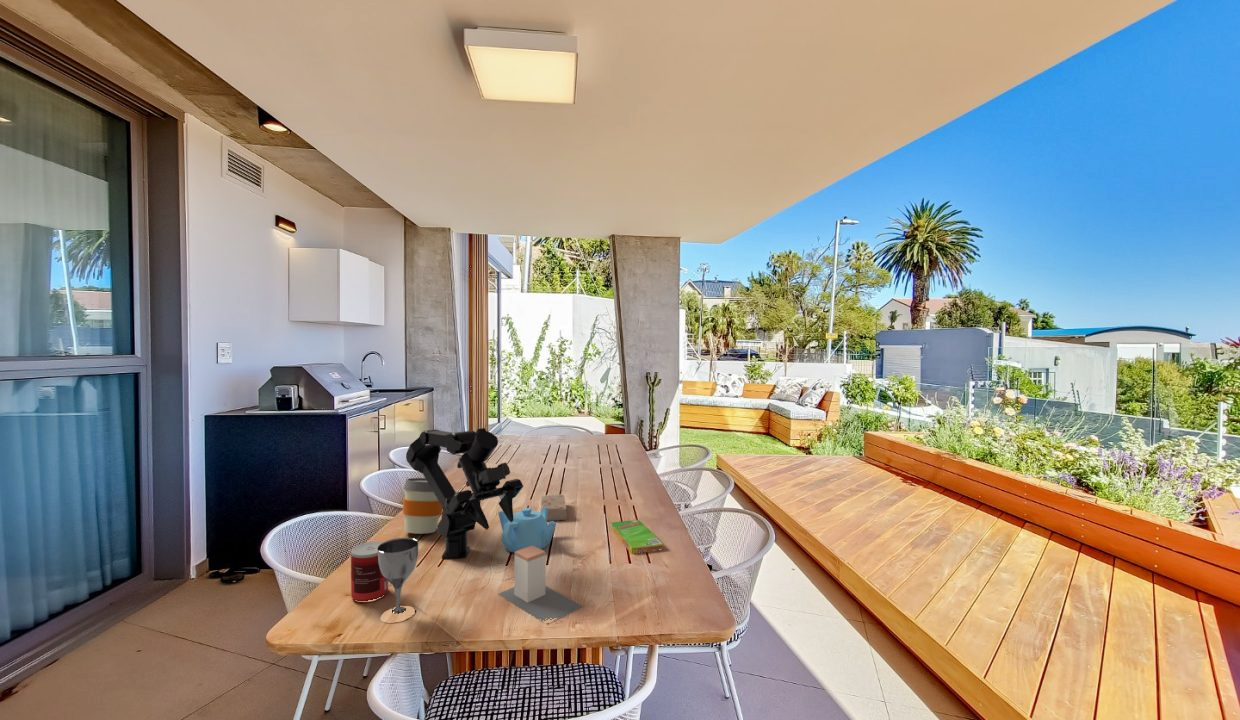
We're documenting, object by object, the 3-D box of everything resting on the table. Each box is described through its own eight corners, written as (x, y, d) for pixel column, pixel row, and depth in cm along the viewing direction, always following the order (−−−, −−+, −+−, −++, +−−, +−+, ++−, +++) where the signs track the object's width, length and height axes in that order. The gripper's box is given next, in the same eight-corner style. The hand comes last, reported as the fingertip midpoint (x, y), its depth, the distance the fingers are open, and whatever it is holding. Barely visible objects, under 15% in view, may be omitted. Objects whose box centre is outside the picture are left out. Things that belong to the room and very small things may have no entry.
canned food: (378, 583, 118) (378, 538, 118) (394, 594, 113) (394, 547, 113) (345, 595, 112) (344, 548, 112) (360, 607, 107) (360, 558, 107)
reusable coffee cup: (449, 528, 155) (455, 480, 157) (429, 536, 143) (436, 483, 145) (411, 525, 157) (418, 477, 159) (389, 532, 144) (396, 480, 147)
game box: (630, 558, 137) (609, 528, 156) (663, 554, 140) (638, 525, 159) (631, 547, 136) (609, 519, 156) (663, 544, 139) (638, 516, 159)
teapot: (497, 538, 147) (497, 502, 146) (547, 533, 151) (547, 498, 151) (501, 559, 132) (501, 520, 132) (556, 553, 137) (556, 514, 136)
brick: (540, 506, 177) (540, 493, 177) (563, 505, 178) (564, 492, 178) (541, 523, 161) (541, 509, 160) (566, 521, 162) (567, 507, 162)
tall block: (514, 594, 112) (514, 551, 112) (531, 587, 116) (532, 545, 116) (527, 602, 109) (527, 558, 109) (545, 594, 113) (545, 551, 112)
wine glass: (423, 604, 109) (423, 537, 109) (409, 624, 101) (409, 552, 101) (387, 604, 109) (387, 537, 108) (370, 624, 101) (370, 552, 100)
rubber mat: (497, 596, 113) (497, 593, 113) (533, 581, 120) (533, 579, 120) (547, 627, 101) (547, 624, 100) (583, 609, 108) (583, 606, 108)
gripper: (454, 459, 117) (478, 516, 110) (519, 448, 130) (545, 498, 123) (438, 485, 122) (460, 542, 115) (502, 472, 136) (526, 521, 129)
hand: (500, 524), depth 120 cm, fingers open, 7 cm apart
